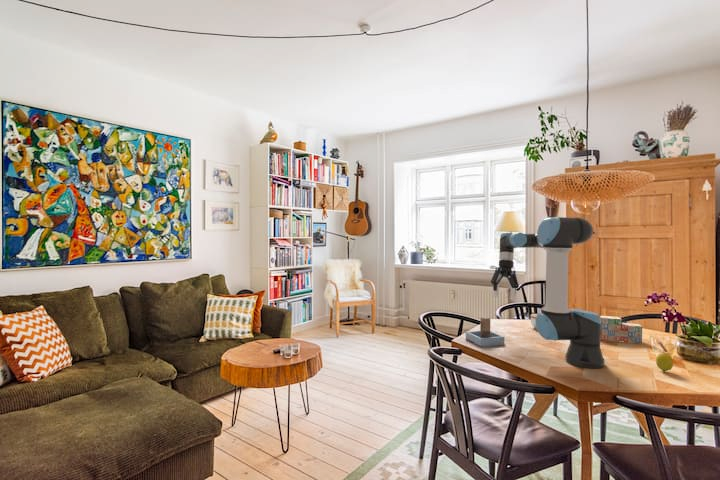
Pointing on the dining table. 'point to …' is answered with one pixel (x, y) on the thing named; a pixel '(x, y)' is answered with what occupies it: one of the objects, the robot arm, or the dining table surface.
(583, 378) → the dining table surface
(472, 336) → the bin
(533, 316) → the lidded jar
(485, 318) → the brown rectangular block
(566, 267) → the robot arm
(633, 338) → the stack of blocks
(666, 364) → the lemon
